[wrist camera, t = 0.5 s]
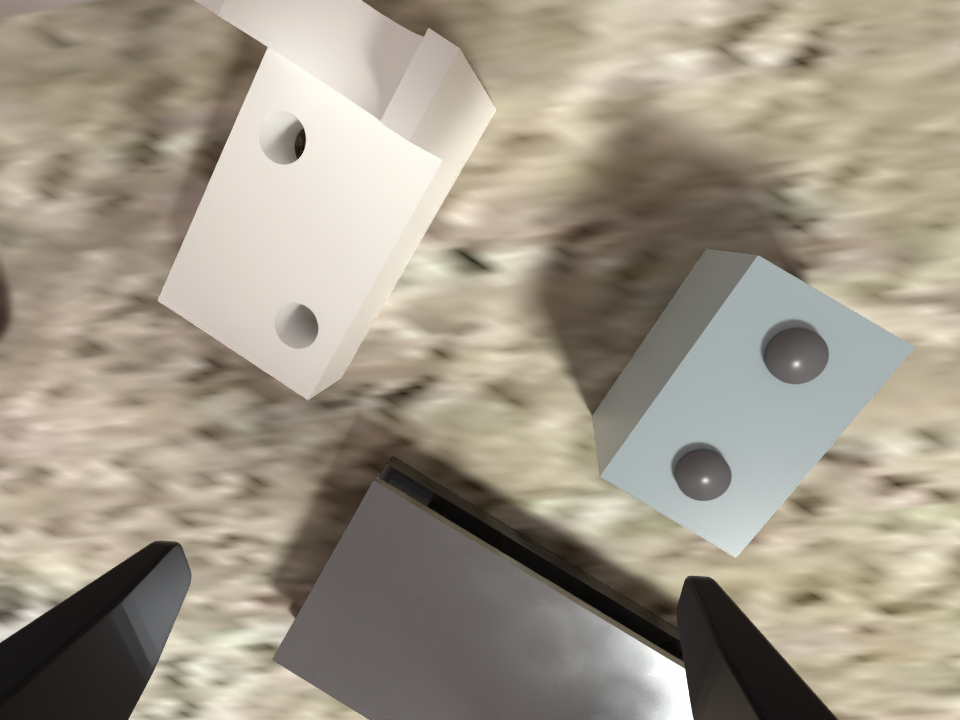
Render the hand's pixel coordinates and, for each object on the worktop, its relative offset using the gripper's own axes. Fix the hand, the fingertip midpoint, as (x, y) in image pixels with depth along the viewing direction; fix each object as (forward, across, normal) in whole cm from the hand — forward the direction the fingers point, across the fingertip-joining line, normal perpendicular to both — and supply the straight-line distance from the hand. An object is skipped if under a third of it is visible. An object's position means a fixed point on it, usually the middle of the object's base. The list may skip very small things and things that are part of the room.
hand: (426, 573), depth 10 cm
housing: (+13, -9, +3) cm, 16 cm away
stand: (+10, -1, +16) cm, 19 cm away
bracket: (+16, +6, -2) cm, 18 cm away
